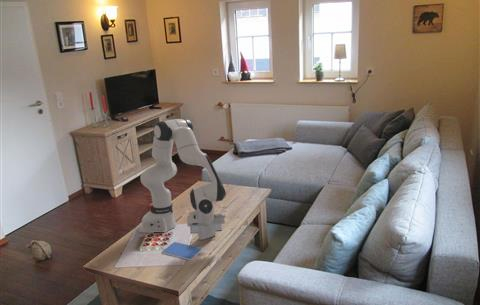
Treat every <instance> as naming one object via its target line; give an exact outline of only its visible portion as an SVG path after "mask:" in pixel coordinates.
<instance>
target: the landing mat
mask: <svg viewBox="0 0 480 305" xmlns="http://www.w3.org/2000/svg"><path fill="white" fill-rule="evenodd" d="M218 231H219V232H221V231H223V228H222V224H215V232H218ZM190 234H198V226H191V227H190Z"/></svg>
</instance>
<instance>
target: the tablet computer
mask: <svg viewBox="0 0 480 305" xmlns="http://www.w3.org/2000/svg"><path fill="white" fill-rule="evenodd" d="M203 251H204V248H202V247H198V246H195V245H190V244H186V243H181V242H177V241H174V242H172V243H171V244H170V245H168V246H167V247H165V248H164V249H163V250H161V254H162V253H163V254H162V255H166V254H167V256H170V257H174V258H179V259H183V260H186V261H193V260H194V259H195V258H196V257H198V255H199V254H200V253H201V252H203Z"/></svg>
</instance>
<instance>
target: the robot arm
mask: <svg viewBox="0 0 480 305" xmlns="http://www.w3.org/2000/svg"><path fill="white" fill-rule="evenodd" d="M193 130H194V127H193V124H192V121H191V120H190V119H188V118H173V119H172V118H171V119H168V120H161V121H158V122H156V123H155V124H154V126H153V130H152V132H153V141H152V147H151V148H152V150H151V157H152V158H153V159H154V160H155V161H156V163H155V165H153V166H151V167H149V168H146V169H145V170H144V171H143V172H142V173H140V183H141V184H142V185H143V186H144V187H145V188H147V189H148V190H149V192H150V194H151V201H152V202H151V203H149V211H148V212H146V214H144V215H143V217H142V219H141V222H140V223H139V225H138V232H139V233H141V234H155V233H154V232H165V233H167V232H168V231H169V230H173V229H174V228H175V227H176V226H177V222H176V219H175V216H174V205H173V202H172V193H171V191H170V190H169V188H167V187H166V186H165V182H167V181H168V180H169V181H170V180H171V179H172V178H174V177H175V175H176V174H177V172H178V167H177V165H176V164H175V162H174V161H173V160H172V159H173V158H172V154H173V145H174V144H173V143H175V147H176V152H177V154H178V157H179V159H180V161H181V162H183V163H185V164H187V165H191V166H200V167H202V168H205V169H204V170H206V173H207V174H208V177H209V178H210V181H211V183H208V184H205V185H200V186H197V187H193V188H192V189H191V190H190V191H189V199H190V204H191V207H192V209H193V211H190V212H189V213H188V215H187V217H186V223H187V227H190V228H191V226H202V225H203V226H209V225H214V224H221V225H222V224H225V222H226V221H225V219H226V216H227V215H225V214H224V213H215V207H214V206H215V205H214V204H213V203H216V202H220V201H221V202H222V201H223V200H224V199H225V197H226V196H227V191H226V187H225V186H224V184H223V182H222V181H221V178H220V177H219V175H218V173H217V171H216V168H215V167H214V164H213V162H212V161H211V159H210V156H209V155H207V153H205V152H203V151H202V150H201V149H200V147H199V144H198V141H197V138H196V135H195V133H194V132H193Z"/></svg>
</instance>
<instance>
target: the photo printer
mask: <svg viewBox="0 0 480 305" xmlns="http://www.w3.org/2000/svg"><path fill="white" fill-rule="evenodd" d="M197 234H198V240H200V241H203V240H206V239H210V238H213V237H214V236H216V231H215V224H214V225H209V226H203V225H202V226H198V233H197Z"/></svg>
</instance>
